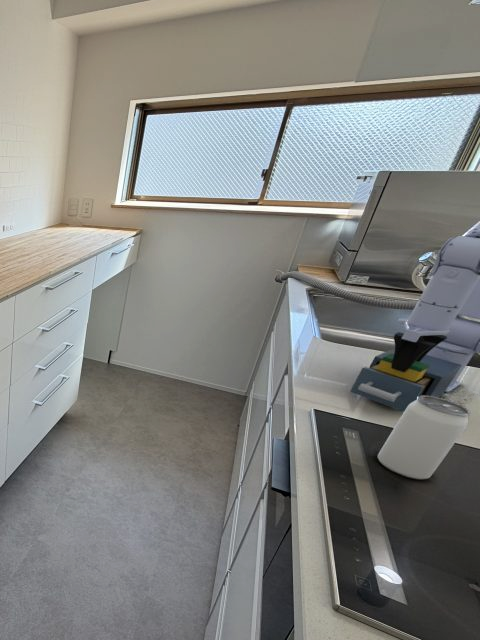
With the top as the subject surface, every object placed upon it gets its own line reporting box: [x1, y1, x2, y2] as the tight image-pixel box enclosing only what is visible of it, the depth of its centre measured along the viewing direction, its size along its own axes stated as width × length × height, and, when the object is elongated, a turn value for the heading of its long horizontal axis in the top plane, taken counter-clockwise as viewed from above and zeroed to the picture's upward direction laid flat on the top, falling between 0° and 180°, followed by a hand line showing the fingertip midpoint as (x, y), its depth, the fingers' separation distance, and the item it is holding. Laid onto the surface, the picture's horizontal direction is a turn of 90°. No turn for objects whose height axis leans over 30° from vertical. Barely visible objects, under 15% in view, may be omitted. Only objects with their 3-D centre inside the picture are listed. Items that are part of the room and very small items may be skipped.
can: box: [377, 396, 471, 480], centre depth 65 cm, size 6×6×12 cm
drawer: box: [349, 364, 434, 413], centre depth 85 cm, size 16×9×6 cm, turn 120°
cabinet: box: [368, 347, 462, 398], centre depth 90 cm, size 13×11×8 cm
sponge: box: [377, 354, 429, 382], centre depth 84 cm, size 6×4×3 cm, turn 30°
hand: (402, 367), depth 84 cm, fingers closed on sponge, 4 cm apart
